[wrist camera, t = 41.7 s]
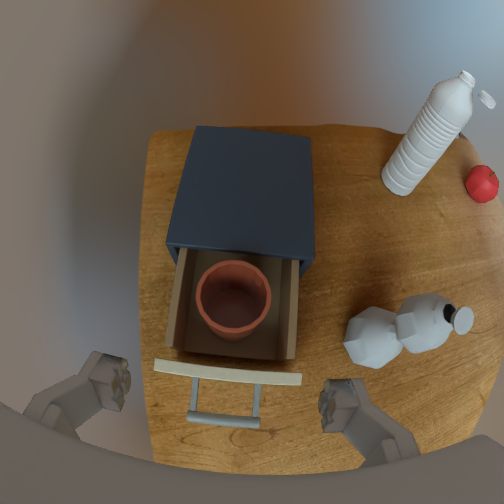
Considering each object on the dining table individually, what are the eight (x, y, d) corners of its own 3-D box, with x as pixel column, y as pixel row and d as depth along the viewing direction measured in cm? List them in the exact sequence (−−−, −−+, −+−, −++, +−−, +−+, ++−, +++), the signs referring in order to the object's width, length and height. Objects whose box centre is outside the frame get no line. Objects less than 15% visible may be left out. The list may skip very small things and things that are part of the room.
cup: (201, 338, 31) (191, 327, 23) (208, 284, 34) (201, 256, 26) (258, 344, 32) (268, 335, 23) (262, 290, 34) (273, 263, 26)
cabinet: (294, 286, 37) (314, 258, 28) (180, 274, 36) (165, 243, 27) (296, 180, 43) (310, 137, 34) (201, 170, 43) (196, 125, 34)
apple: (458, 172, 49) (477, 150, 41) (481, 185, 49) (500, 166, 41) (463, 201, 46) (486, 179, 38) (487, 213, 45) (510, 194, 38)
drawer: (282, 420, 29) (297, 434, 22) (166, 408, 29) (149, 419, 21) (292, 258, 37) (306, 231, 30) (188, 247, 37) (178, 217, 29)
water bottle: (375, 166, 46) (440, 54, 23) (402, 167, 47) (469, 66, 24) (393, 208, 43) (481, 98, 20) (421, 207, 44) (506, 109, 21)
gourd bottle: (358, 300, 36) (455, 235, 18) (397, 334, 35) (507, 295, 16) (324, 346, 34) (420, 315, 15) (367, 381, 32) (481, 377, 14)
